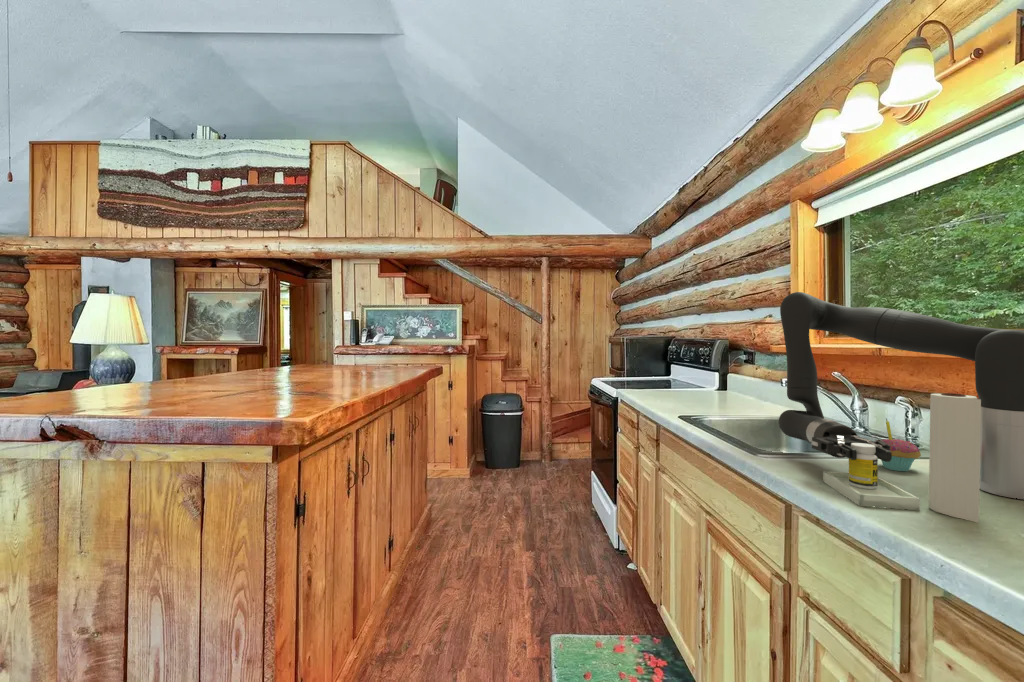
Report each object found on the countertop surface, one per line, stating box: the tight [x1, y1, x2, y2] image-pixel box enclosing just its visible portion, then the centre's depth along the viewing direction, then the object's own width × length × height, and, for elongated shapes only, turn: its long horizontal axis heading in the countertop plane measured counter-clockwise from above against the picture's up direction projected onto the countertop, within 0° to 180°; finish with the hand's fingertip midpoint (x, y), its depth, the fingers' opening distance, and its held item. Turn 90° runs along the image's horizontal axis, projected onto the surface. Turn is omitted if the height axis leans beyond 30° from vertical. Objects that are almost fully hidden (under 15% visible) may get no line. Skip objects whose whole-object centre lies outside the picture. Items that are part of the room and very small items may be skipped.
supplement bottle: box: [848, 443, 879, 489], centre depth 93 cm, size 5×5×8 cm
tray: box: [822, 470, 921, 512], centre depth 91 cm, size 10×15×2 cm, turn 168°
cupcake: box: [880, 417, 922, 472], centre depth 110 cm, size 9×8×12 cm
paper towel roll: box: [928, 392, 981, 524], centre depth 82 cm, size 7×6×21 cm
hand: (871, 455), depth 90 cm, fingers open, 5 cm apart
